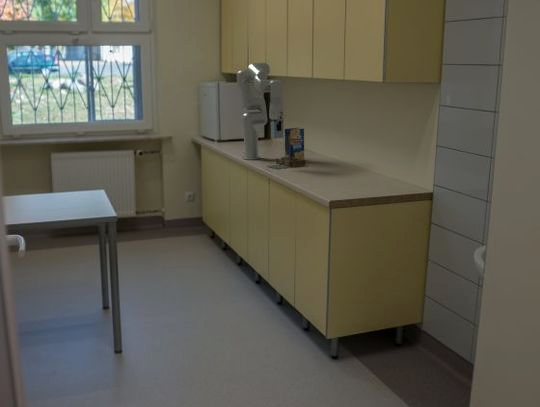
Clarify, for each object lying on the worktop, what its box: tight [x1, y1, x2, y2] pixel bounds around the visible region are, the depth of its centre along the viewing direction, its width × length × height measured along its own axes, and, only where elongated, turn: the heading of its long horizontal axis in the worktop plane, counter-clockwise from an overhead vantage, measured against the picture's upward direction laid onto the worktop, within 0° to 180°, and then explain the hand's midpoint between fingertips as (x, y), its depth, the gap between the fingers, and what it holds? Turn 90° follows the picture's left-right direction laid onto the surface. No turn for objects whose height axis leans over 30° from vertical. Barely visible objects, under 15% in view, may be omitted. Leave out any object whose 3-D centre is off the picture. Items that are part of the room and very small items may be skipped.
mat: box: [266, 164, 290, 170], centre depth 380 cm, size 12×8×1 cm
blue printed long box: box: [284, 127, 305, 160], centre depth 399 cm, size 7×11×22 cm, turn 123°
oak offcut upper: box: [280, 155, 291, 161], centre depth 391 cm, size 4×6×2 cm
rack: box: [275, 157, 306, 168], centre depth 387 cm, size 16×11×4 cm
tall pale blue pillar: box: [270, 121, 285, 139], centre depth 374 cm, size 4×7×10 cm, turn 123°
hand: (277, 130), depth 374 cm, fingers closed on tall pale blue pillar, 3 cm apart
